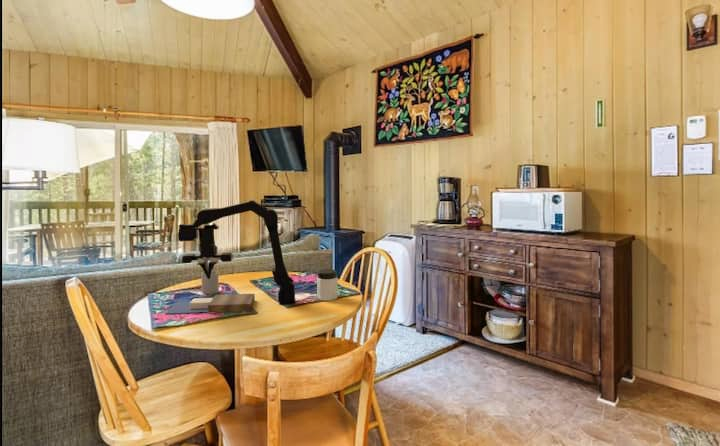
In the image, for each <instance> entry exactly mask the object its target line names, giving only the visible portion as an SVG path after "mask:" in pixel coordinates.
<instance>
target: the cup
mask: <svg viewBox="0 0 720 446" xmlns="http://www.w3.org/2000/svg"><path fill="white" fill-rule="evenodd" d="M200 274H201V275H200V277H201V293H202V294H203V293H204V294H203V295H214V294H213V293H215V294H218V293H219V292H220V291H219V290H220V289H219V288H220V286H219V282H220V281H219V271H217V270H216V271H215V270H213V271H212V274H211V278H210V279H208V278H207V276H206V274H205V272H204V271H202V272H201V273H200Z"/></svg>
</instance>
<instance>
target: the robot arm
mask: <svg viewBox="0 0 720 446" xmlns="http://www.w3.org/2000/svg"><path fill="white" fill-rule="evenodd" d="M246 212H253V213H254V214H256V215H257V216H258V217H260V218H262V219H263V222H264V225H265V227H266V228H267V232H268V233H269V240H270V245H271V250H272V251H271V252H272V254H273V256H272V257H273V260H274V261H273V262H274V267H272V268H271V273H272V276H273V282H275V284H276V285H277V286H278V287H279V290H278V292H277V297H278V301H277V302H278V303H279V305H295V304H296V286H295V280H294V279H293V278H291V277H290V274H289V271H288V268H287V267H286V264H285V261H284V257H283V253H282V247H281V240H280V235H279V228H278V225H279V222H278V221H279V220H278V219H279V217H278V212H277V210H276V209H274V208H268V207H266V206H264V205H262V204H260V203H258V202H256V200H254V199H253V200H248V201H245V202H241V203H237V204H234V205H228V206H223V207H218V208H217V207H211V208H204V209H202V210H200V211H199V212H198V213H197V214H196V220H195V221H194V222H193V223H192V224H190V223H189V224H183V223H180V224H179V225H178V233H177V238H178V242H180V243H181V242H195V241H196V239H198V240H199V245H198V246H199V247H198V248H199V249H198V250H199V255H196V253H185V254H184V255H183V256H182V258H181V263H182V264H191V263H192V262H193V261H197V265H198V266H200V267H201V269H202V271H203V272H205V274H206V276H207V278H208V279H210V278H211V274H212V271H214V270H213V269H214V268H215V265H217V264H218V263H219V260H220V261H221V262H222V263H226V262H232V261H233V259H234V253H232V252H227V251H226V252H222V253H221V254H218V246H217V245H216V242H215V230H218V229H219V228H220V226H218V225H217V224H216V223H215V222H216V221H217V220H219V219H222V218H226V217H230V216H234V215H238V214H243V213H246ZM213 222H214V223H213ZM211 223H213V224H211ZM202 225H204V226H203V227H201V226H202Z"/></svg>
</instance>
